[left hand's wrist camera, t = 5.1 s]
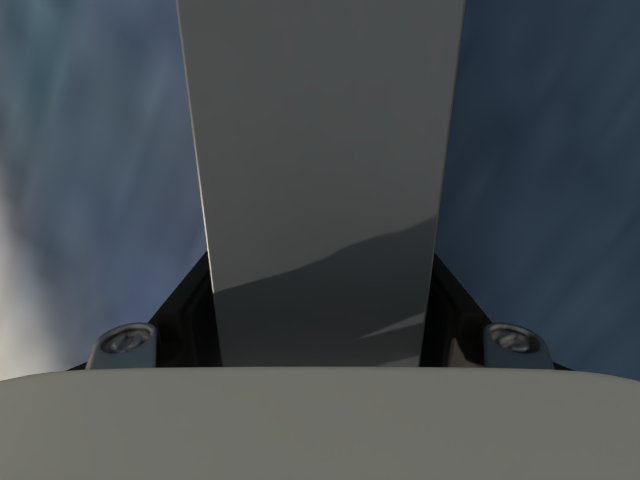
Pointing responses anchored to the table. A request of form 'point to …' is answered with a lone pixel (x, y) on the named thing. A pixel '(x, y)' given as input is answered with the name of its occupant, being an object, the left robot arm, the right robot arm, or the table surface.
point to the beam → (320, 171)
